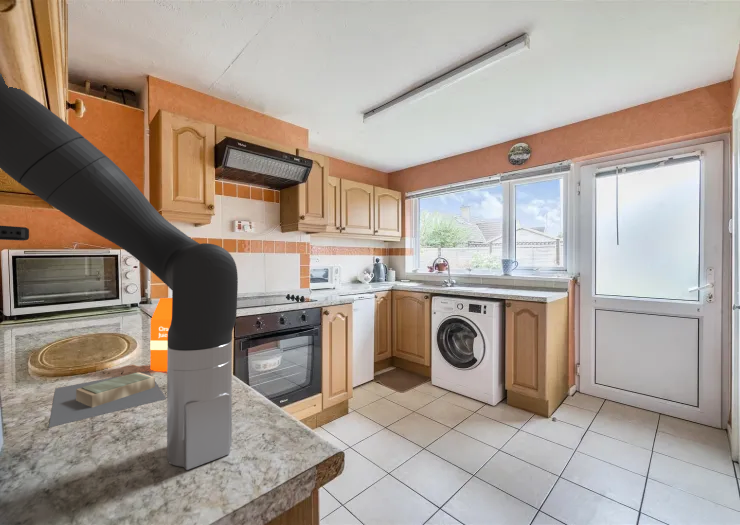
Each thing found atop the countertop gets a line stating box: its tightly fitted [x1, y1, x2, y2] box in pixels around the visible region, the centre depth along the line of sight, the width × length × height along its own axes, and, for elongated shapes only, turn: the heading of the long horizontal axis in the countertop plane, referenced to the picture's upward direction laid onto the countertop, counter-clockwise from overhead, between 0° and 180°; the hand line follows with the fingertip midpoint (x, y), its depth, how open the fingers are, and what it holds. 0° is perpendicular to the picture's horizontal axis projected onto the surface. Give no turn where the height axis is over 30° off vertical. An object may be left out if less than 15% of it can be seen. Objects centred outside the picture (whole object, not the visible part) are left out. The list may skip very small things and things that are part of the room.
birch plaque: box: [76, 371, 156, 407], centre depth 72 cm, size 3×7×12 cm
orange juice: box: [149, 297, 172, 372], centre depth 93 cm, size 8×9×20 cm
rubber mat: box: [48, 370, 167, 428], centre depth 72 cm, size 24×18×1 cm
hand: (27, 234), depth 55 cm, fingers closed
